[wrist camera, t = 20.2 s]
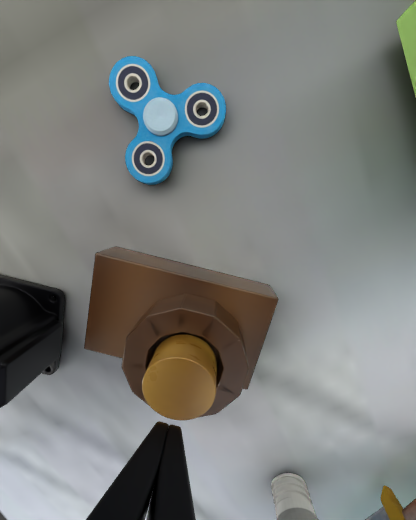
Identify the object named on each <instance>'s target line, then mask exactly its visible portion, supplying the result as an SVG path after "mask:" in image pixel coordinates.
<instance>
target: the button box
mask: <svg viewBox="0 0 416 520" xmlns="http://www.w3.org/2000/svg"><path fill="white" fill-rule="evenodd" d="M277 302H278V297H277V296H276V294H275V293H274V291H273V290H272V288H271V287H270V285H268V284H264V283H260V282H256V281H252V280H248V279H244V278H240V277H236V276H232V275H228V274H224V273H220V272H216V271H212V270H208V269H204V268H200V267H196V266H192V265H188V264H184V263H180V262H176V261H172V260H168V259H164V258H160V257H156V256H152V255H148V254H144V253H140V252H136V251H132V250H128V249H124V248H120V247H112V248H109V249H106V250H103V251H100V252H97V253H96V254H95V263H94V271H93V279H92V288H91V296H90V305H89V313H88V321H87V330H86V338H85V346H84V348H85V349H87V350H91V351H95V352H99V353H103V354H107V355H111V356H115V357H119V358H123V360H122V369H123V371H124V374H125V376H126V378H127V381H128V383H129V385H130V388H131V390H132V392H134V394H135V395H137V396H138V397H139V398H140V399H142V400H143V401H144V402H145V403H146V404H148V403H147V401H146V400H145V398H144V395H143V391H142V380H143V377H144V374H145V372H146V370H147V368H148V366H149V364H150V362H151V359H152V357H153V355H154V353H155V351H156V349H157V347H158V346H159V344H160V343H161V342H162V341H164V340H165V339H167V338H169V337H171V336H174V335H179V334H188V335H193V336H196V337H198V338H200V339H202V340H204V341H205V342H206V343H207V344H208V345H209V346H210V347H211V348H212V350H213V352H214V353H215V356H216V360H217V377H216V396H215V400H214V402H213V404H212V406H211V407H210V409H209V410H208V411H207V412H206V413H204V414H203V415H201V416H199V417H203V416H208V415H214V414H216V413H218V412H220V411H221V410H222V409H223V408H225V407H226V406H227V405H228V404H230V403H231V402H232V401H233V400H235V399H236V398H237V397H238V396H239V395H240V394H241V391H242V388H243V389H248V386H249V383H250V381H251V378H252V375H253V372H254V369H255V366H256V363H257V360H258V357H259V354H260V352H261V349H262V346H263V343H264V340H265V337H266V334H267V331H268V328H269V325H270V323H271V320H272V317H273V314H274V311H275V308H276V305H277ZM148 405H149V404H148Z"/></svg>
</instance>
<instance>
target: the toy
mask: <svg viewBox="0 0 416 520" xmlns="http://www.w3.org/2000/svg"><path fill="white" fill-rule="evenodd" d="M134 82H138V83H140V84H139V87H138V88H137V89H136V90H130V86H131V84H132V83H134ZM109 86H110V90H111V93H112V95H113V97H114V99H115V100H116V102H117V103H118V104H119V106H121V107H122V108H123V109H124V110H125V111H127V112H129V113H131V114H134V115H135V116H136V117H137V119H138V122H139V130H138V134H137V136H136V137H135V138H134V139H133V140H132V142H131V143H130V144H129V146H128V148H127V150H126V155H125V160H126V165H127V168H128V170H129V172H130V173H131V175H132V176H133V177H134V178H135V179H137V180H138V181H140V182H142V183H144V184H148V185H155V184H158V183H161V182H162V181H164V180H165V179H166V178H167V177H168V176H169V174H170V172H171V170H172V166H173V157H172V148H173V146H174V144H175V142H176V141H177V140H178V139H180V138H181V137H184V136H192V137H196V138H200V139H202V138H209V137H211V136H213V135H215V134H216V133H217V132H218V131H219V130H220V129H221V127H222V125H223V123H224V120H225V115H226V104H225V100H224V97H223V96H222V94H221V92H220V91H219V90H218V89H217V88H216V87H214V86H212V85H210V84H207V83H197V84H194V85H192V86H190V87H189V88H187V89H186V90H185V91H184V92H183V93H181V94H178V95H171V94H168V93H166V92H164V91H163V90H162V89H161V88H160V87H159V83H158V80H157V77H156V74H155V71H154V70H153V68H152V66H151V65H150V64H149V63H148V62H147V61H146V60H144V59H142V58H140V57H136V56H128V57H125V58H122V59H121V60H119V61H118V62H117V63H116V64H115V65H114V67H113V68H112V71H111V73H110V78H109ZM201 107H204V108H206V109H207V110H208V113H207V114H206V115H205V116H199V115H198V114H197V113H196V112H197V110H198V109H199V108H201ZM149 155H152V156H154V159H155V160H154V163H153V164H152V165H149V166H148V165H145V158H146V157H147V156H149Z"/></svg>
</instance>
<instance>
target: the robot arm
mask: <svg viewBox="0 0 416 520" xmlns="http://www.w3.org/2000/svg"><path fill="white" fill-rule="evenodd" d="M54 295H55V296H56V298H57V299H55V297H54ZM64 302H65V295H64V293H63V292H62V291H61V290H59V289H56V288H52V287H48V286H44V285H40V284H36V283H32V282H28V281H24V280H20V279H16V278H12V277H8V276H4V275H0V408H1V407H3V406H4V405H6V404H7V403H9V402H10V401H11V400H12V399H13V398H14V397H15V396H16V395H17V394H19V393H20V392H21V391H22V390H23V389H24V388H25V387H26V386H27V385H29V384H30V383H31V382H32V381H33V380H34V379H35V378H36V377H37V376H39V375H40V374H41V373H43V374H47V375H51V374H53V373H54V372H55V371H56V370H57V369H58V367H59V358H60V355H61V346H62V334H63V313H64ZM149 503H150V505H149ZM148 507H149V509H148ZM147 511H148V514H147ZM146 514H147V520H196V519H195V513H194V507H193V500H192V494H191V488H190V481H189V475H188V469H187V463H186V456H185V450H184V444H183V438H182V431H181V428H180V427H179V426H175V425H169V427H168V424H167V423H163V422H157V423H156V424H155V425H154V427H153V428H152V429H151V431H150V432H149V434H148V435H147V436H146V438H145V439H144V440H143V442H142V443H141V445H140V446H139V447H138V449H137V450H136V451H135V453H134V454H133V456H132V457H131V458H130V460H129V461H128V463H127V464H126V465H125V467H124V468H123V469H122V471H121V472H120V474H119V475H118V476H117V478H116V479H115V480H114V482H113V483H112V485H111V486H110V487H109V489H108V490H107V491H106V493H105V494H104V496H103V497H102V498H101V500H100V501H99V502H98V504H97V505H96V507H95V508H94V509H93V511H92V512H91V513H90V515H89V516H88V518H87V519H86V520H145V517H146Z"/></svg>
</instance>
